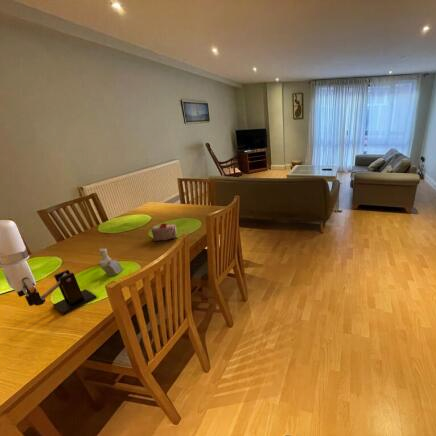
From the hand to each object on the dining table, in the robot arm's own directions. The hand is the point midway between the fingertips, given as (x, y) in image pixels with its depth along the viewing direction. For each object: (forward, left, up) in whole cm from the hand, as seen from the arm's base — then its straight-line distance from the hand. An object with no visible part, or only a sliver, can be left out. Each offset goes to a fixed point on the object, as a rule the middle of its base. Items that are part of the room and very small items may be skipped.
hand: (30, 298), depth 86 cm
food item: (+66, +20, -10) cm, 69 cm away
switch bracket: (+11, 0, -10) cm, 15 cm away
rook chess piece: (+33, +22, -10) cm, 41 cm away
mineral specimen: (+29, +8, -10) cm, 31 cm away
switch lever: (+7, 0, -2) cm, 7 cm away
